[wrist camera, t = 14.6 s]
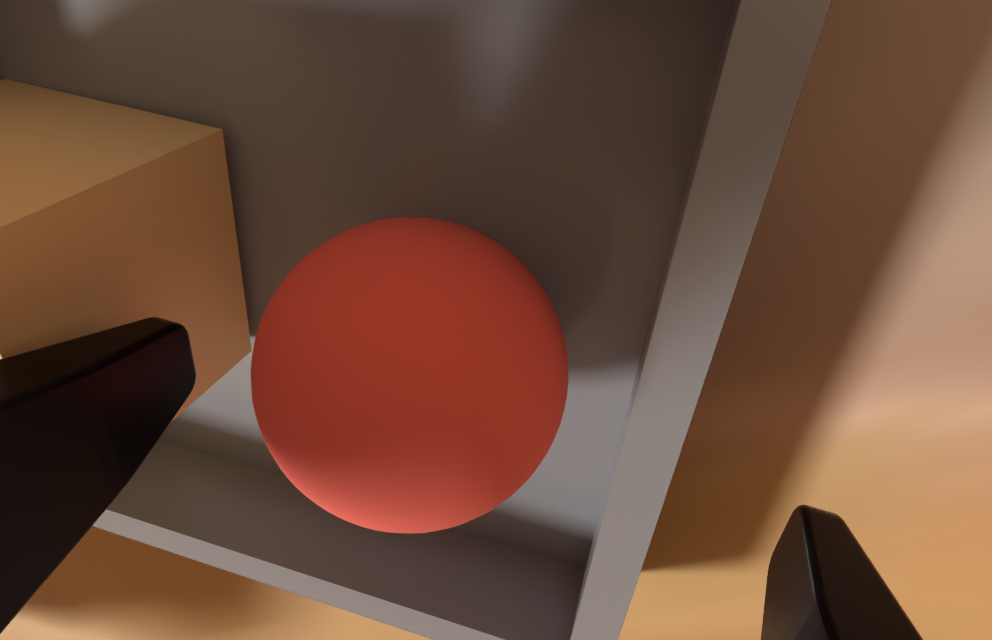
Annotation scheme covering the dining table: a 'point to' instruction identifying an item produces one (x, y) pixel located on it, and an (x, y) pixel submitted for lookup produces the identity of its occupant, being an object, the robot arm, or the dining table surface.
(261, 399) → the tomato
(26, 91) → the block
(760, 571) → the dining table surface
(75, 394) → the robot arm
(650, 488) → the dish
